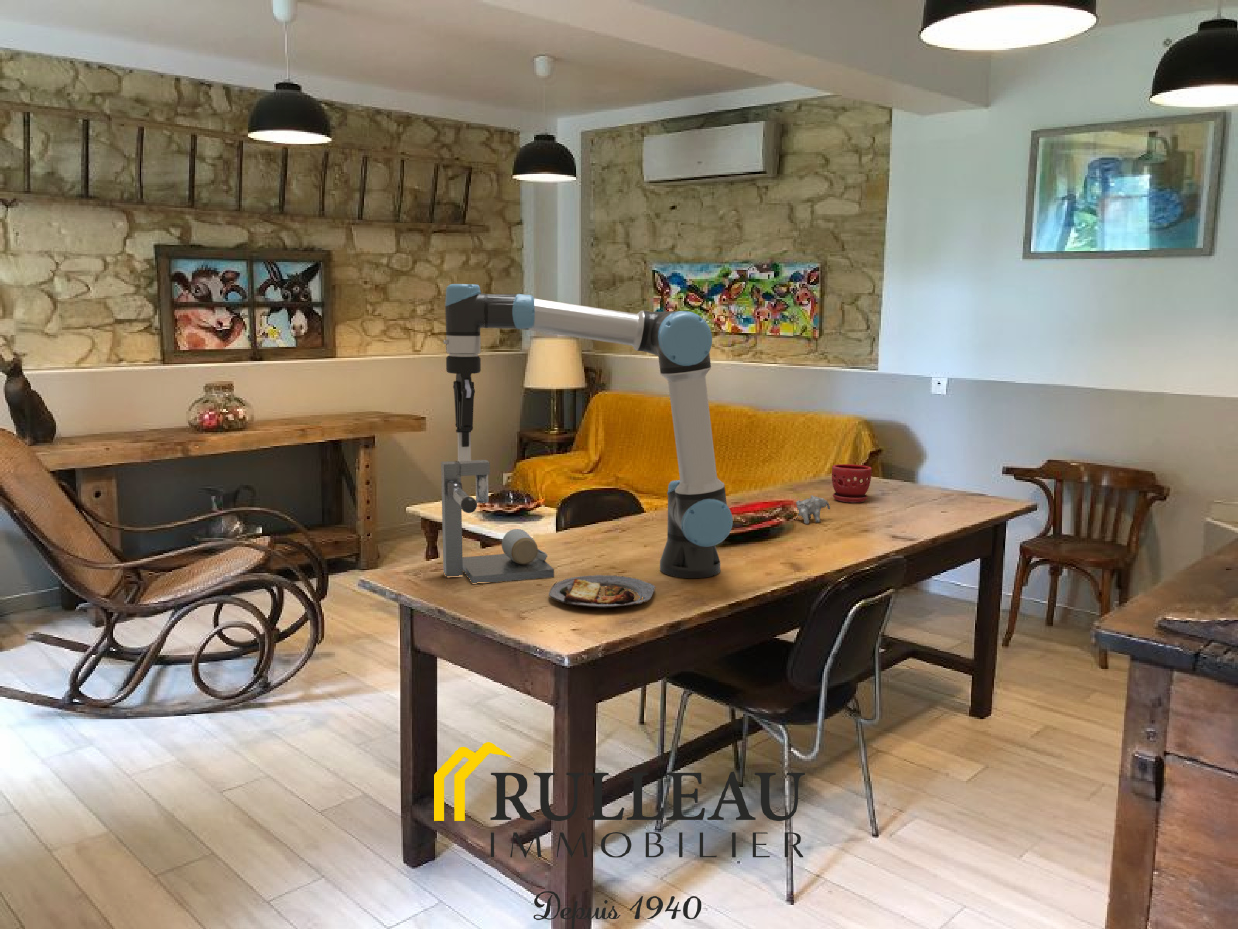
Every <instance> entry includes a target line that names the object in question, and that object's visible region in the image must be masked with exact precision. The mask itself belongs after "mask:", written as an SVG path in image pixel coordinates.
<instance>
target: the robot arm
mask: <svg viewBox="0 0 1238 929" xmlns="http://www.w3.org/2000/svg"><path fill="white" fill-rule="evenodd" d="M444 307H445V309H444V310H445V312H444V313H445V314H444V315H445V339H443V344H444V345H446V346H445V349H446V351H445V352H446V353H447V354H449V355H447V356H446V358H445V360H446V361H445V367H446V370H445V372H447V373H448V374H456V375H455V380H453V382H452V383H453V384H452V385H453V386H452V388H453V395H454V396H453V397H454V414H455V417H454V418H455V423H454V424H455V428H456V429H455V432H456V434H457V461H471V460H472V436H471V435H472V433H471V432H472V431H473V429H474V426H473V425H474V403H475V402H474V399H475V393H476V389H475V383H474V381H473V380H472V374H479V373H480V372H481V368H482V366H481V364H482V363H481V359H482V358H481V357H480V356H479V354H481V353H482V351H481V349H482V348H481V347H482V346H481V344H482V341H481V340H482V337H481V329H510V330H511V329H512V330H513V329H515V330H525V331H534V332H539V333H546V334H552V335H559V336H566V337H572V338H578V339H579V338H580V339H585V340H586V339H587V340H592V341H598V342H599V341H600V342H605V343H613V344H619V345H620V344H621V345H625V346H626V345H627V346H631V347H632V348H633V350H635V351H638V352H644V353H648V354H651V355H655V356H657V359H658V365H659V373H660V375H661V376H662V377H663V378H665V379H666V380H667V383H668V391H669V400H670V406H671V408H670V409H671V416H672V423H673V424H672V425H673V432H674V434H673V435H674V440H675V442H674V443H675V449H676V458H677V464H678V473H679V479H678V480H677V479H676V480H675V479H674V480H671V481H670V482H669V483H668V488H667V490H668V491H667V492H666V493H667V533H666V536H667V538H666V542H665V546H664V548H663V551H662V554H661V556H660V561H659V571H660V572H661V573H663V574H665V575H667V576H671V577H675V578H680V579H681V578H683V579H704V578H710V577H714V576H717V575H718V574H720V572H721V560H720V556H719V554H718V550H717V547H716V546H717V545H719V544H720V543H722V542H724V541H725V539H727V537H729V535H730V533H731V531H732V528H733V518H734V517H733V514H732V511H731V509H730V508H729V505H728V504H727V495H726V494H727V493H726V487H725V483H724V482H723V481H721V480H720V479H719V478H718V474H717V467H716V466H717V465H716V457H715V450H714V448H715V447H714V441H713V431H712V422H711V414H710V407H709V406H710V405H709V398H708V396H709V395H708V388H707V380H706V376H707V374H708V373H709V372H710V370H711V369H712V364H711V354H710V352H711V349H712V346H713V345H712V344H713V334H712V331H711V327H710V326H709V325H708V323H707V321H706V320H704V318H703V317H701V316H700V315H699V314H697V313H695V312H692V311H688V310H672V311H650V310H640V311H639V312H638V313H635V312H627V311H619V310H614V309H607V308H601V307H593V306H587V305H579V304H574V303H573V304H572V303H567V302H560V301H554V300H553V301H552V300H546V299H541V298H535V296H533V295H531V294H523V293H500V294H499V293H483V292H481V286H480V285H479V284H465V283H452V284H451V283H450V284H449V285H448V286H446V288H445V305H444ZM713 575H714V576H713Z"/></svg>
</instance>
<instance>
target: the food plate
mask: <svg viewBox="0 0 1238 929" xmlns="http://www.w3.org/2000/svg"><path fill="white" fill-rule="evenodd" d="M605 586H607V587H605ZM601 587H605V589H604V593H605V594H604V595H603V594H602V596H601V589H602V588H601ZM656 588H657V587H656V586H655V585H654V584H653V583H649V582H647V581H643V580H641V579H638V578H636V577H629V576H624V575H622V576H620V575H616V574H615V575H614V574H613V575H611V574H610V575H608V574H607V575H604V574H594V575H581V576H574V577H570V578H569V577H568V578H565V579H563V580H561V581H556V582H555V583H554V584H553V585H552V587H551V588H550V590H549V592H548V596H549V597H550V598H551V599H553V600H556V601H557V602H559V603H562V604H566V605H571V606H579V607H580V606H581V607H582V606H583V607H593V608H597V609H601V608H605V609H608V608H607V607H610V608H616V607H630V606H635V605H641V604H642V603H643V602H644V603H647V602H648V601H650V599H652V596H653V595H654V592H655V589H656ZM628 589H631V590H628ZM632 590H633V591H632ZM599 592H600V593H599ZM620 592H621V593H620ZM635 592H637V593H638V594H637V593H636V594H637V596H638V595H639V596H640V598H639V596H638V598H637V599H636V600H635V595H634V593H635ZM619 593H620V594H619ZM599 596H600V597H601V598H600V597H599ZM642 597H643V600H642V599H641V598H642ZM640 599H641V600H640Z"/></svg>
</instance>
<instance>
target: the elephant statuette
mask: <svg viewBox="0 0 1238 929" xmlns="http://www.w3.org/2000/svg"><path fill="white" fill-rule="evenodd" d="M795 504H796V507H797V508H798V510H799V514H798V517H797V518H796V520H798V518H799V517H800V516H801V519H803V522H804V524H805V525H809V523H810V520H811V519H812V516H813V519H814V521H815V523H816V524H819V523H820V522H821V511H822V508H824V509H825V507H827V509H828V510H830V509H831V505H830V504H829V501H828V500H826V499H825V498H823V497H819V496H815V495H813V494H811V495H810V498H805V499H803V500H800V499H799V500H797V501H795ZM811 515H812V516H811Z"/></svg>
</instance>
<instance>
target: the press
mask: <svg viewBox="0 0 1238 929" xmlns="http://www.w3.org/2000/svg"><path fill="white" fill-rule="evenodd" d="M490 469H491V467H490V461H489V460H487V459H477V460H476V459H475V460H474V459H471V461H458V460H455V461H454V460H453V461H452V460H451V461H440V472H441V473H440V474H441V475H440V477H441V478H440V479H441V485H440V486H441V518H442V519H441V521H442V523H441V524H442V527H441V528H442V562H443V564H442V567H443V574H444V573H445V575H446V577H447V576H459V575H463V576H464V574H465V573H466V575H467V576H468V578H470V580H471V582H472V583H477V582H496V583H501V582H500V581H507V582H515V581H514V580H518V581H526V579H529V580H535V579H536V578H540V579H548V578H549V579H551V578H554V577H555V569H554V568H553V567H552V566H551V565H550V564H549V563H548V562H547V561H546V560H545V561H543V560H540V559H537V558H535V559H534V560H533V561H532V562H530V563H529V564H523V565H522V564H518V563H516V562H514V561H513V560H512V559H510V558H509V557H508V556H507V555H506V554H505V553H501V554H500V553H498V554H490V555H489V554H486V555H474V556H464V557H463V523H462V522H463V516H462V511H463V510H462V509H461V506H460V505H459V504H458V502H457V501H456V500H455V499H451V500H449V499H448V496H447V483H452V482H461V483H462V477H470V476H475V500H476V502H477V504H485V503H489V475H490V474H491V470H490ZM463 571H464V572H465V573H464V572H463ZM466 575H465V576H466ZM467 576H466V577H467ZM446 577H445V578H446ZM468 578H467V579H468ZM524 579H525V580H524ZM470 580H469V581H470ZM512 580H513V581H512ZM536 580H537V579H536ZM498 581H499V582H498ZM471 582H470V583H471ZM472 583H471V584H472Z"/></svg>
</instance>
